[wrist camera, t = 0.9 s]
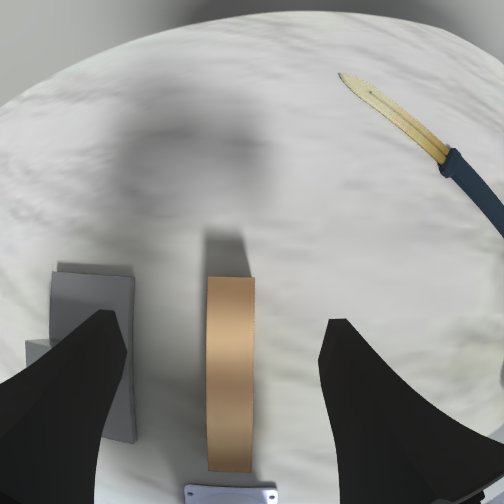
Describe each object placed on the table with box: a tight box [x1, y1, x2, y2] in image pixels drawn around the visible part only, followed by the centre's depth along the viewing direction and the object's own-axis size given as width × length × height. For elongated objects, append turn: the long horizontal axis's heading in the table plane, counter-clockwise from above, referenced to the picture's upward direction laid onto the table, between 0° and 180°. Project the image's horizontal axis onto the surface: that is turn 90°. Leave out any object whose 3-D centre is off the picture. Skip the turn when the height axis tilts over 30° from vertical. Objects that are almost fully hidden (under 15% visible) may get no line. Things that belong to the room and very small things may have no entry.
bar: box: [206, 276, 255, 473], centre depth 19 cm, size 14×3×4 cm, turn 179°
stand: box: [25, 271, 137, 444], centre depth 18 cm, size 14×8×5 cm, turn 179°
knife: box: [340, 73, 504, 238], centre depth 25 cm, size 4×2×30 cm
